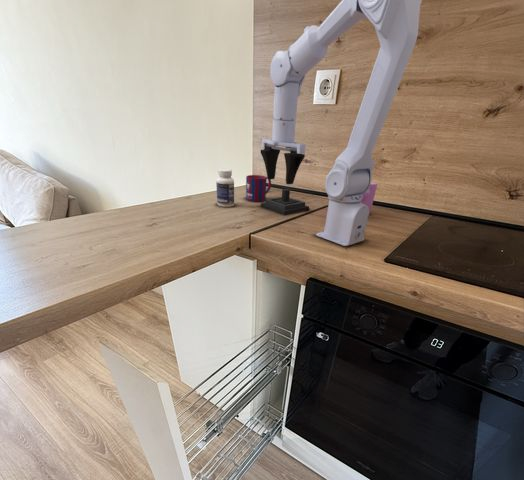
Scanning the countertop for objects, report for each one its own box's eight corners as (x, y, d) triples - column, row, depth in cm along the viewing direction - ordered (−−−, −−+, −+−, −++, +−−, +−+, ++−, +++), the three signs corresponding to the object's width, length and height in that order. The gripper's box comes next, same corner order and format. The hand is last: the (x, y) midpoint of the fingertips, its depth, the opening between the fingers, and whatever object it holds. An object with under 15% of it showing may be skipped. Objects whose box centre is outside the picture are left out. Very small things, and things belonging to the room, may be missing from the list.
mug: (242, 198, 104) (242, 175, 100) (265, 195, 109) (266, 173, 105) (253, 202, 100) (254, 179, 96) (276, 199, 105) (278, 177, 101)
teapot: (336, 221, 88) (344, 181, 82) (309, 208, 98) (314, 172, 91) (382, 215, 95) (392, 179, 89) (352, 204, 105) (360, 170, 98)
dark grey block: (296, 205, 96) (297, 190, 93) (284, 207, 93) (286, 192, 91) (285, 202, 99) (286, 187, 96) (273, 204, 96) (274, 188, 93)
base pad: (309, 209, 97) (310, 202, 95) (284, 214, 91) (284, 207, 89) (285, 202, 103) (285, 195, 101) (260, 206, 97) (260, 199, 96)
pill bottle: (231, 208, 94) (231, 172, 88) (215, 206, 95) (213, 170, 89) (236, 203, 98) (236, 169, 92) (220, 202, 99) (219, 167, 93)
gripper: (253, 118, 78) (252, 178, 86) (293, 121, 69) (287, 187, 78) (274, 118, 82) (270, 176, 90) (314, 122, 73) (306, 185, 82)
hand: (280, 181), depth 84 cm, fingers open, 7 cm apart
